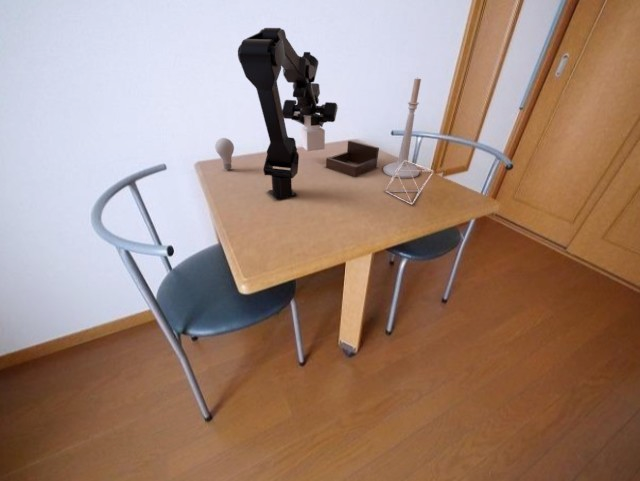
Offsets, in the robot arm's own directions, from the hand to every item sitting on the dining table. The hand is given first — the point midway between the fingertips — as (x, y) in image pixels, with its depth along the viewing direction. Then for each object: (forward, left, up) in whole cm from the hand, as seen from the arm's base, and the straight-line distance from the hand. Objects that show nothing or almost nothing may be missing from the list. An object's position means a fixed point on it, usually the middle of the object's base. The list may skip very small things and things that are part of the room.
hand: (313, 125), depth 107 cm
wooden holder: (-15, -8, -13) cm, 21 cm away
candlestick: (-27, -21, -13) cm, 37 cm away
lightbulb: (+4, +33, -13) cm, 36 cm away
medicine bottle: (-1, +1, -8) cm, 8 cm away
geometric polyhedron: (-43, -7, -13) cm, 45 cm away
